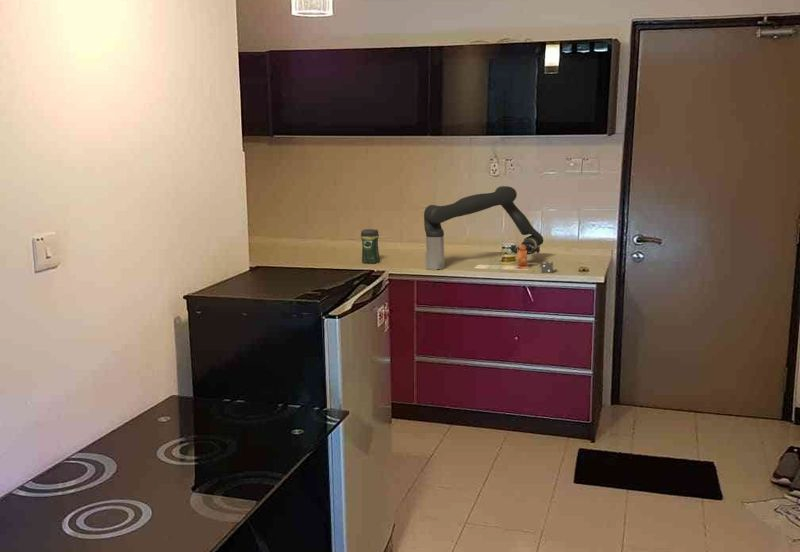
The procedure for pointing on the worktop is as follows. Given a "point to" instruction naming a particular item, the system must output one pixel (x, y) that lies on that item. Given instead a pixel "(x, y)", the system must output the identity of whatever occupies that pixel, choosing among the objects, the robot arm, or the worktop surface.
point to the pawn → (522, 257)
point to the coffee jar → (370, 246)
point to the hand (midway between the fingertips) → (523, 251)
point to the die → (547, 267)
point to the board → (499, 267)
